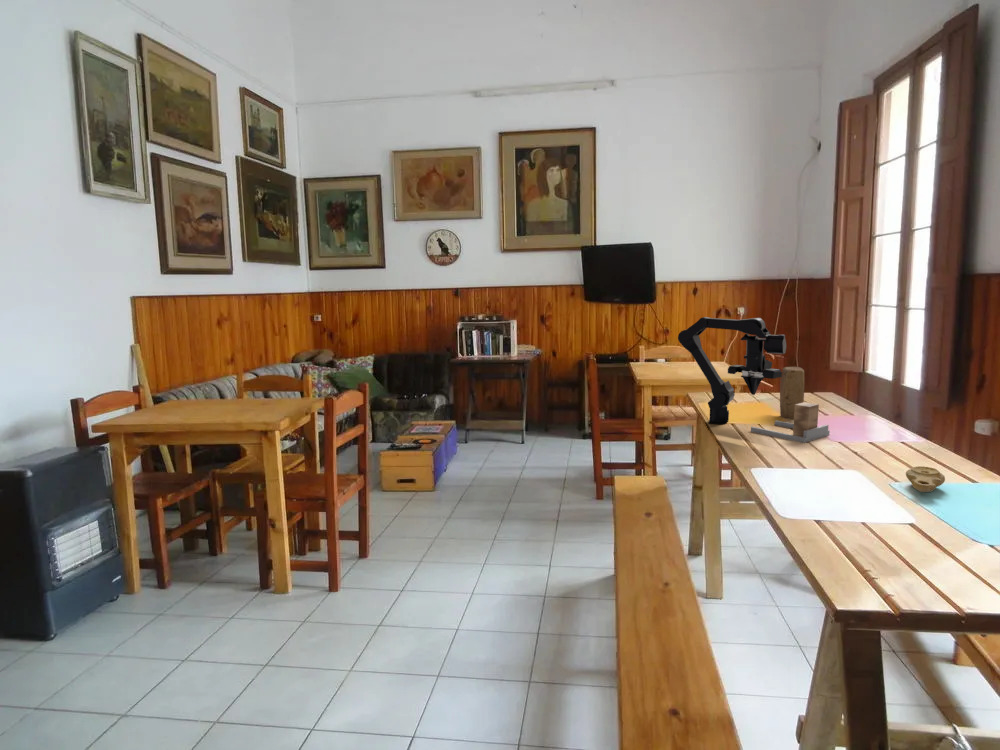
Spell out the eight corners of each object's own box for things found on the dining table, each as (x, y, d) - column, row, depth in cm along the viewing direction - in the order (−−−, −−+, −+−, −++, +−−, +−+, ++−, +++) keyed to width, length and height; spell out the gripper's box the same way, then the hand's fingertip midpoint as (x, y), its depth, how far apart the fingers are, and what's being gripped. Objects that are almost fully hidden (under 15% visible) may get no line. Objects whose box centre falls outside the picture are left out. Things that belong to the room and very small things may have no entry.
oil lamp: (917, 499, 159) (918, 480, 158) (889, 480, 173) (891, 463, 172) (962, 500, 157) (964, 481, 156) (931, 481, 171) (933, 463, 170)
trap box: (750, 435, 222) (751, 421, 221) (776, 428, 231) (776, 415, 230) (804, 447, 206) (804, 432, 205) (829, 439, 215) (830, 424, 214)
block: (803, 421, 241) (806, 369, 237) (782, 420, 242) (785, 369, 239) (797, 415, 251) (800, 365, 248) (777, 414, 253) (779, 365, 249)
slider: (793, 436, 214) (794, 404, 212) (802, 433, 217) (804, 402, 216) (807, 439, 210) (809, 406, 208) (816, 436, 213) (818, 404, 212)
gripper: (791, 352, 227) (789, 395, 229) (745, 348, 242) (743, 388, 244) (773, 355, 221) (771, 399, 223) (727, 351, 236) (726, 392, 238)
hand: (753, 394), depth 232 cm, fingers closed
